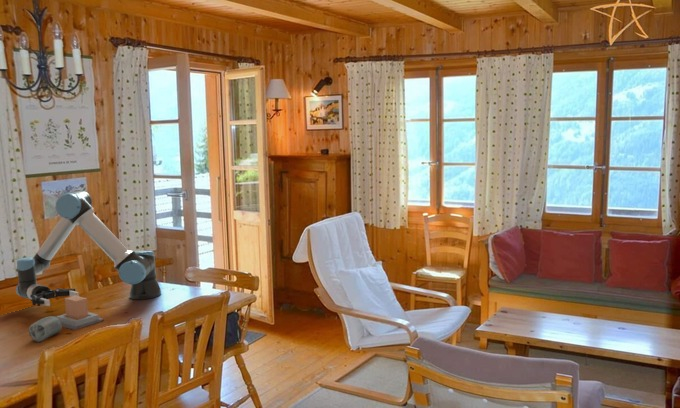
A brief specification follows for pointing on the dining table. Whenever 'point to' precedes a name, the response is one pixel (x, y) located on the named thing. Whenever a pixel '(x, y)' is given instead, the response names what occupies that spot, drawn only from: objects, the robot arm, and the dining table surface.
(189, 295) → the dining table surface
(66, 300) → the key block
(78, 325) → the base
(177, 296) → the dining table surface
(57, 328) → the grey faceted cylinder
